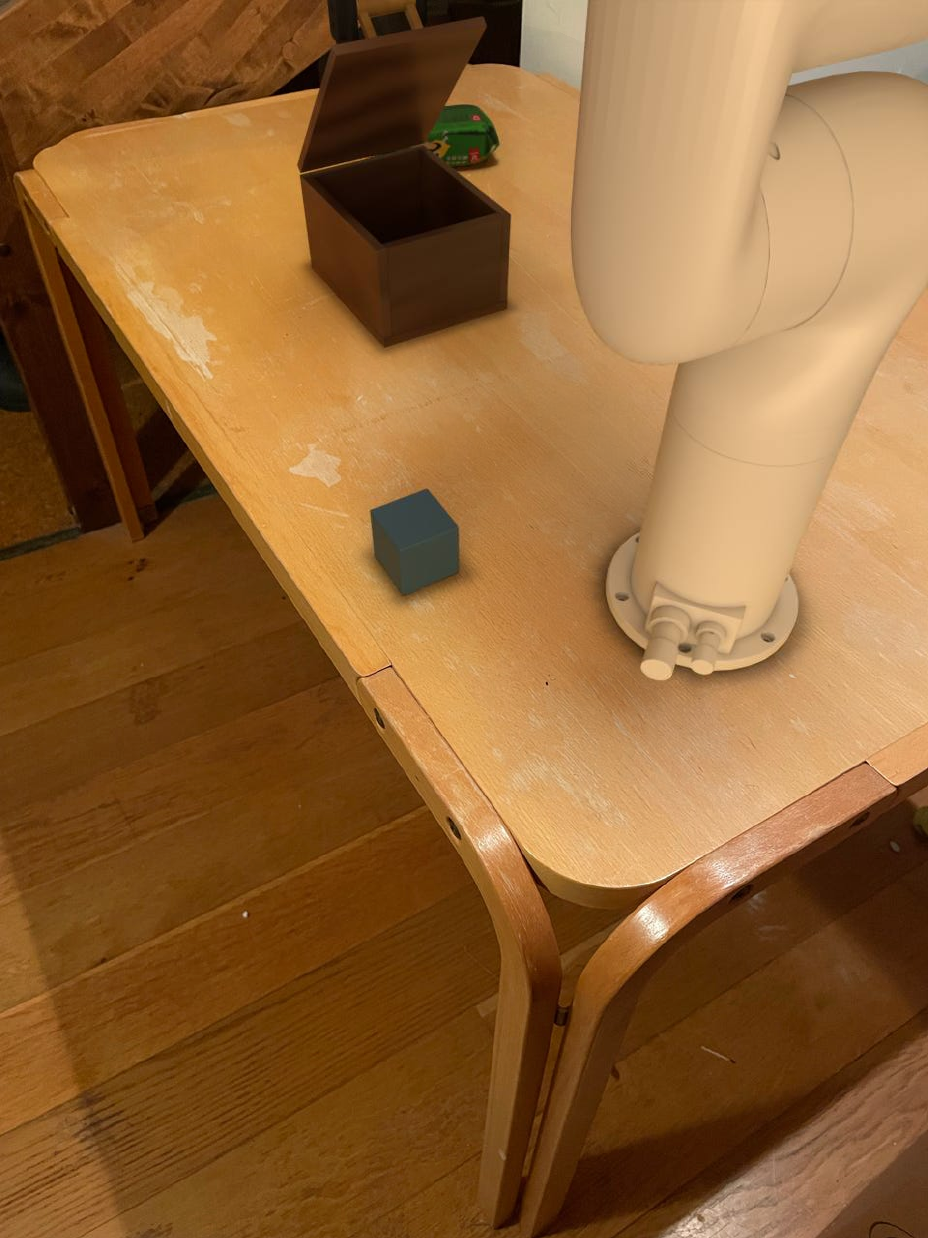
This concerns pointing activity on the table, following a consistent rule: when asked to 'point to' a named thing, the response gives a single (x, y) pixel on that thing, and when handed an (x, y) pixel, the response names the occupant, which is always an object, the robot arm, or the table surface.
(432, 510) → the block
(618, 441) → the table surface
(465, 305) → the chest
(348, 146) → the lid
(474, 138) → the snack package
